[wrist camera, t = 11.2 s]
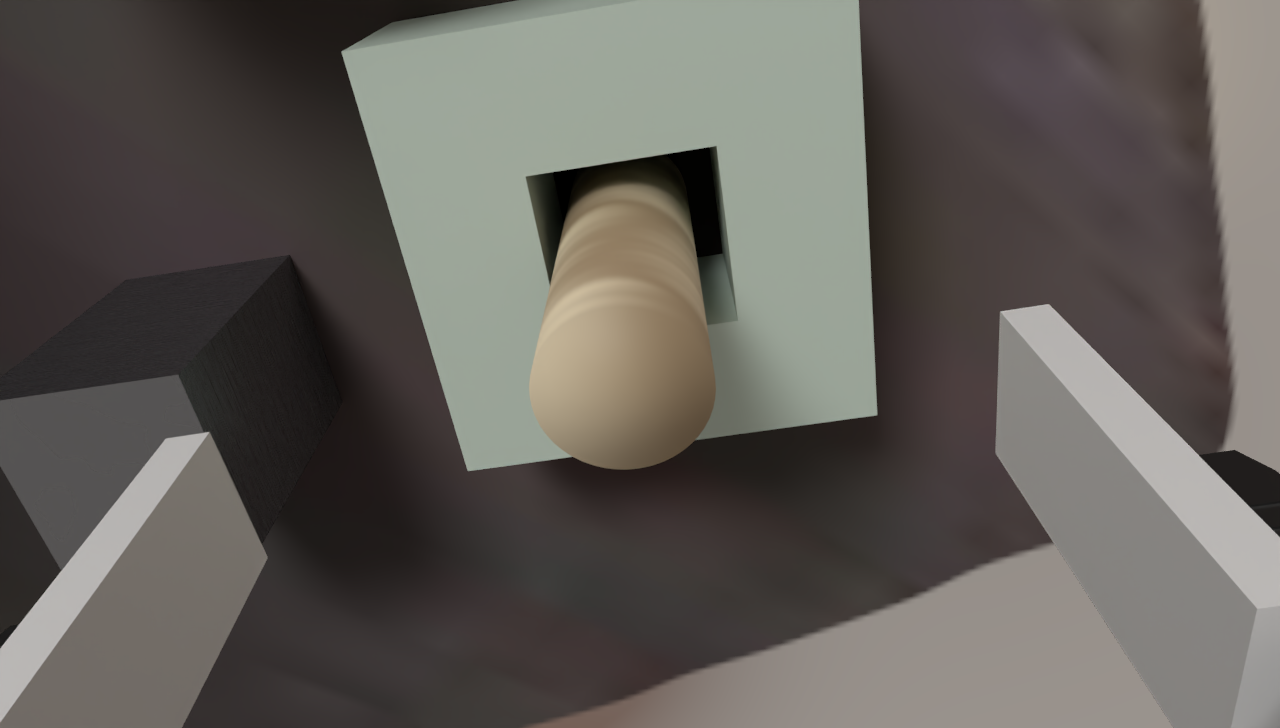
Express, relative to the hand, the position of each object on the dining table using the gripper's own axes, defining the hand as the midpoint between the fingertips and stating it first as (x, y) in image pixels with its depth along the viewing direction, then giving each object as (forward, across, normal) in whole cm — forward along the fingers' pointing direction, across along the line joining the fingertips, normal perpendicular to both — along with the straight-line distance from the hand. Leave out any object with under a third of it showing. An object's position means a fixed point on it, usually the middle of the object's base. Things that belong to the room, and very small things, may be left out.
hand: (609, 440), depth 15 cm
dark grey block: (+15, -13, -4) cm, 20 cm away
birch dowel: (+14, 0, -1) cm, 14 cm away
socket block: (+14, +1, 0) cm, 14 cm away
